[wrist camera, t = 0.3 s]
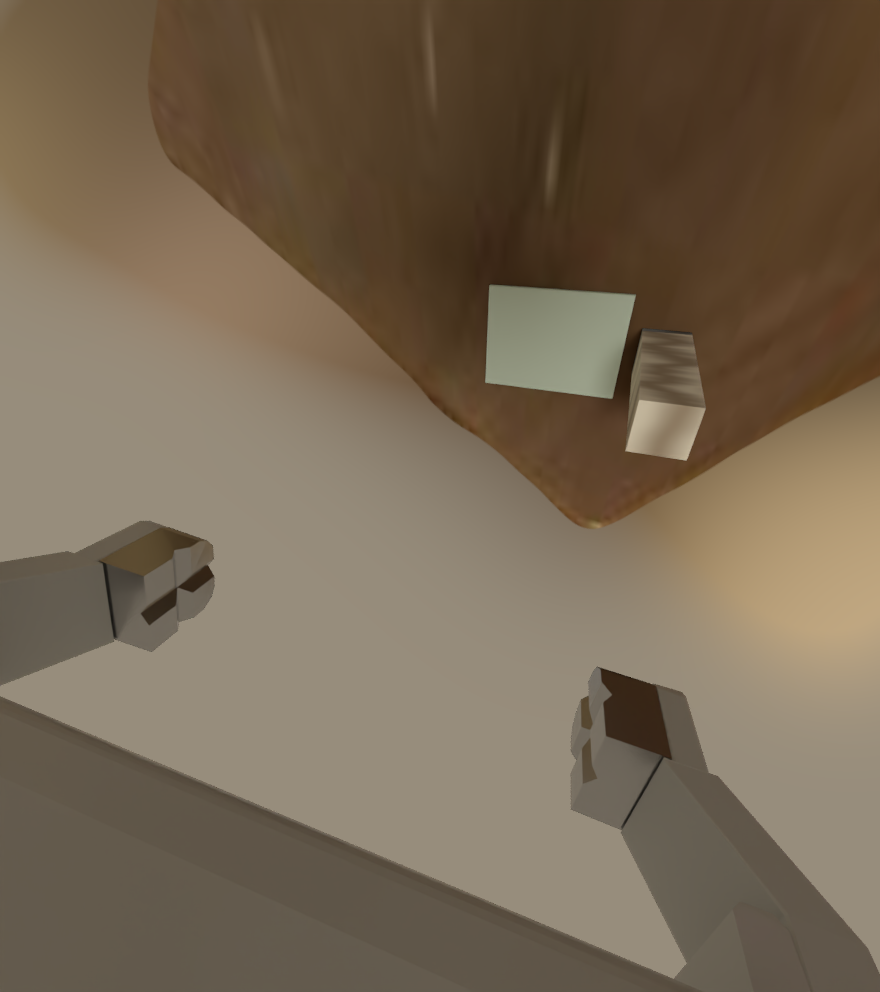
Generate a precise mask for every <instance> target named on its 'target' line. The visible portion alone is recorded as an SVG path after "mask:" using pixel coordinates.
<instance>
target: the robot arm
mask: <svg viewBox="0 0 880 992" xmlns="http://www.w3.org/2000/svg"><path fill="white" fill-rule="evenodd" d="M213 559H214V555H213V545H212V544H210V543H209V542H208V541H207V540H204V539H201V538H198V537H195V536H193V535H190V534H187V533H184V532H181V531H178V530H175V529H173V528H170V527H166V526H162V525H160V524H157V523H154V522H151V521H139V522H137V523H135V524H133V525H131V526H129V527H127V528H125V529H123V530H121V531H119V532H117V533H115V534H113V535H111V536H109V537H107V538H105V539H103V540H101V541H99V542H96V543H94V544H92V545H91V546H88V547H86V548H84V549H82V550H80V551H78V552H76V553H71V552H61V553H55V554H49V555H42V556H36V557H29V558H23V559H18V560H11V561H5V562H0V686H1V685H3V684H6V683H8V682H11V681H14V680H16V679H19V678H21V677H24V676H26V675H29V674H31V673H34V672H37V671H39V670H42V669H44V668H47V667H50V666H52V665H55V664H57V663H60V662H63V661H65V660H68V659H70V658H73V657H76V656H78V655H81V654H83V653H86V652H88V651H91V650H94V649H96V648H99V647H101V646H104V645H106V644H109V643H112V642H114V639H115V640H118V641H121V642H124V643H127V644H130V645H133V646H136V647H139V648H142V649H144V650H147V651H151V652H152V651H154V650H155V649H156V648H157V647H158V646H160V645H161V644H162V643H163V642H165V641H166V640H167V639H168V638H169V637H171V636H172V635H173V634H174V633H176V632H177V631H178V626H179V622H180V621H183V620H187V619H190V618H194V617H195V616H196V615H197V614H198V613H200V612H201V611H202V610H203V609H204V608H205V606H206V605H207V603H208V602H209V600H210V598H211V597H212V594H213V590H214V575H213V573H212V571H211V570H210V568H209V566H208V565H209V564H210V562H211V561H212V560H213ZM588 684H589V696H587V697H585V698H583V699H581V701H580V704H579V706H578V708H577V711H576V714H575V718H574V723H573V727H572V735H571V752H572V754H573V755H574V757H575V759H576V763H575V765H574V767H573V770H572V772H571V810H573V811H576V812H578V813H581V814H583V815H586V816H589V817H591V818H593V819H596V820H598V821H601V822H603V823H605V824H608V825H610V826H613V827H615V828H618V829H620V830H622V831H621V834H622V836H623V838H624V840H625V842H626V844H627V846H628V848H629V850H630V852H631V854H632V856H633V858H634V859H635V861H636V863H637V865H638V867H639V870H640V872H641V873H642V875H643V877H644V879H645V881H646V883H647V885H648V887H649V889H650V891H651V893H652V895H653V897H654V899H655V901H656V903H657V905H658V907H659V909H660V911H661V913H662V915H663V917H664V919H665V921H666V923H667V925H668V927H669V929H670V931H671V933H672V935H673V937H674V939H675V941H676V943H677V945H678V947H679V948H680V951H681V953H682V954H683V956H684V958H685V960H686V962H687V964H686V965H685V966H684V967H683V969H682V970H681V971H680V972H679V973H678V975H677V976H676V977H675V978H674V979H672V978H670V977H668V976H665V975H663V974H660V973H658V972H656V971H653V970H651V969H649V968H646V967H644V966H641V965H639V964H637V963H634V962H631V961H630V960H627V959H625V958H622V957H620V956H618V955H615V954H613V953H610V952H608V951H606V950H603V949H601V948H599V947H596V946H594V945H591V944H589V943H587V942H584V941H582V940H579V939H577V938H575V937H572V936H570V935H568V934H565V933H563V932H560V931H558V930H556V929H553V928H551V927H549V926H546V925H544V924H541V923H539V922H536V921H534V920H532V919H529V918H527V917H525V916H522V915H520V914H518V913H515V912H513V911H510V910H508V909H506V908H503V907H501V906H498V905H496V904H494V903H491V902H489V901H486V900H484V899H482V898H480V897H477V896H475V895H472V894H470V893H468V892H465V891H463V890H460V889H458V888H456V887H453V886H450V885H448V884H446V883H444V882H441V881H439V880H436V879H434V878H432V877H429V876H427V875H425V874H422V873H420V872H417V871H415V870H413V869H410V868H408V867H405V866H403V865H401V864H398V863H396V862H393V861H391V860H388V859H386V858H384V857H381V856H379V855H377V854H374V853H372V852H370V851H367V850H365V849H362V848H360V847H358V846H355V845H353V844H350V843H348V842H346V841H343V840H341V839H339V838H336V837H334V836H331V835H329V834H327V833H324V832H321V831H319V830H317V829H315V828H312V827H310V826H307V825H305V824H303V823H300V822H298V821H295V820H293V819H290V818H288V817H286V816H284V815H281V814H279V813H276V812H274V811H272V810H269V809H267V808H264V807H262V806H260V805H257V804H255V803H253V802H250V801H248V800H245V799H243V798H241V797H238V796H236V795H234V794H231V793H229V792H226V791H224V790H222V789H219V788H217V787H215V786H212V785H210V784H207V783H205V782H203V781H200V780H198V779H196V778H193V777H191V776H188V775H186V774H184V773H181V772H179V771H176V770H174V769H172V768H169V767H167V766H165V765H162V764H160V763H157V762H155V761H153V760H150V759H148V758H146V757H143V756H141V755H139V754H136V753H134V752H131V751H129V750H127V749H124V748H122V747H119V746H117V745H115V744H112V743H110V742H108V741H105V740H103V739H100V738H98V737H96V736H93V735H91V734H88V733H86V732H84V731H81V730H79V729H77V728H74V727H72V726H69V725H67V724H65V723H62V722H60V721H58V720H55V719H53V718H50V717H48V716H46V715H43V714H41V713H38V712H36V711H34V710H31V709H29V708H26V707H24V706H22V705H19V704H17V703H15V702H12V701H10V700H7V699H5V698H3V697H0V992H880V974H879V972H878V970H877V967H876V965H875V963H874V961H873V958H872V956H871V954H870V952H869V950H868V948H867V947H866V946H865V944H864V943H863V942H862V941H861V940H860V939H859V938H858V937H857V935H856V934H855V933H854V932H853V931H852V929H851V928H850V927H849V926H848V925H847V924H846V923H845V921H844V920H843V919H842V918H841V917H840V916H839V915H838V913H837V912H836V911H835V910H834V909H833V908H832V907H831V905H830V904H829V903H828V902H827V901H826V900H825V899H824V897H823V896H822V895H821V894H820V893H819V892H818V890H817V889H816V888H815V887H814V886H813V885H812V884H811V882H810V881H809V880H808V879H807V878H806V877H805V876H804V875H803V873H802V872H801V871H800V870H799V869H798V868H797V866H796V865H795V864H794V863H793V862H792V861H791V859H790V858H789V857H788V856H787V855H786V854H785V853H784V851H783V850H782V849H781V848H780V847H779V846H778V845H777V843H776V842H775V841H774V840H773V839H772V838H771V836H770V835H769V834H768V833H767V832H766V831H765V830H764V828H763V827H762V826H761V825H760V824H759V823H758V822H757V821H756V819H755V818H754V817H753V816H752V815H751V814H750V813H749V811H748V810H747V809H746V808H745V807H744V805H743V804H742V803H741V802H740V801H739V800H738V799H737V797H736V796H735V795H734V794H733V793H732V792H731V791H730V789H729V788H728V787H727V786H726V785H725V784H724V783H723V782H722V780H721V779H720V778H719V777H718V776H716V775H713V774H710V773H708V769H707V765H706V762H705V759H704V755H703V752H702V749H701V745H700V743H699V739H698V736H697V732H696V729H695V726H694V722H693V719H692V715H691V712H690V709H689V705H688V702H687V699H686V696H685V695H684V694H683V693H682V692H680V691H676V690H673V689H670V688H666V687H663V686H660V685H656V684H650V683H647V682H644V681H641V680H638V679H634V678H631V677H628V676H625V675H622V674H619V673H616V672H613V671H609V670H606V669H603V668H600V667H596V668H595V670H594V671H593V673H592V675H591V677H590V680H589V682H588Z"/></svg>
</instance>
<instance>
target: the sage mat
mask: <svg viewBox="0 0 880 992" xmlns="http://www.w3.org/2000/svg"><path fill="white" fill-rule="evenodd" d="M635 296H636V294H623V293H609V292H594V291H579V290H565V289H550V288H536V287H521V286H506V285H492V284H490V285H489V306H488V331H487V355H486V380H485V383H493V384H501V385H509V386H516V387H524V388H532V389H540V390H548V391H555V392H563V393H571V394H579V395H587V396H594V397H602V398H610V399H612V398H613V393H614V389H615V385H616V380H617V376H618V371H619V367H620V362H621V358H622V354H623V349H624V345H625V340H626V336H627V332H628V327H629V323H630V318H631V314H632V310H633V305H634V301H635Z"/></svg>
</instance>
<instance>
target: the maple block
mask: <svg viewBox="0 0 880 992" xmlns="http://www.w3.org/2000/svg"><path fill="white" fill-rule="evenodd" d="M705 409H706V407H705V401H704V396H703V390H702V385H701V380H700V374H699V369H698V363H697V358H696V353H695V347H694V342H693V336H692V333H690V332H679V331H667V330H656V329H644V328H643V329H642V333H641V337H640V341H639V345H638V349H637V353H636V357H635V361H634V365H633V369H632V378H631V390H630V403H629V415H628V427H627V440H626V451H629V452H635V453H642V454H648V455H654V456H661V457H667V458H674V459H680V460H686V461H687V458H688V455H689V453H690V450H691V447H692V445H693V442H694V439H695V436H696V434H697V431H698V428H699V425H700V423H701V420H702V417H703V415H704V412H705Z"/></svg>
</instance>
